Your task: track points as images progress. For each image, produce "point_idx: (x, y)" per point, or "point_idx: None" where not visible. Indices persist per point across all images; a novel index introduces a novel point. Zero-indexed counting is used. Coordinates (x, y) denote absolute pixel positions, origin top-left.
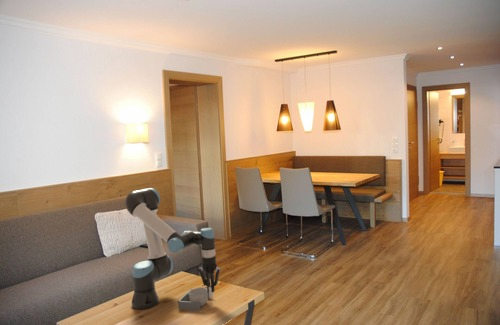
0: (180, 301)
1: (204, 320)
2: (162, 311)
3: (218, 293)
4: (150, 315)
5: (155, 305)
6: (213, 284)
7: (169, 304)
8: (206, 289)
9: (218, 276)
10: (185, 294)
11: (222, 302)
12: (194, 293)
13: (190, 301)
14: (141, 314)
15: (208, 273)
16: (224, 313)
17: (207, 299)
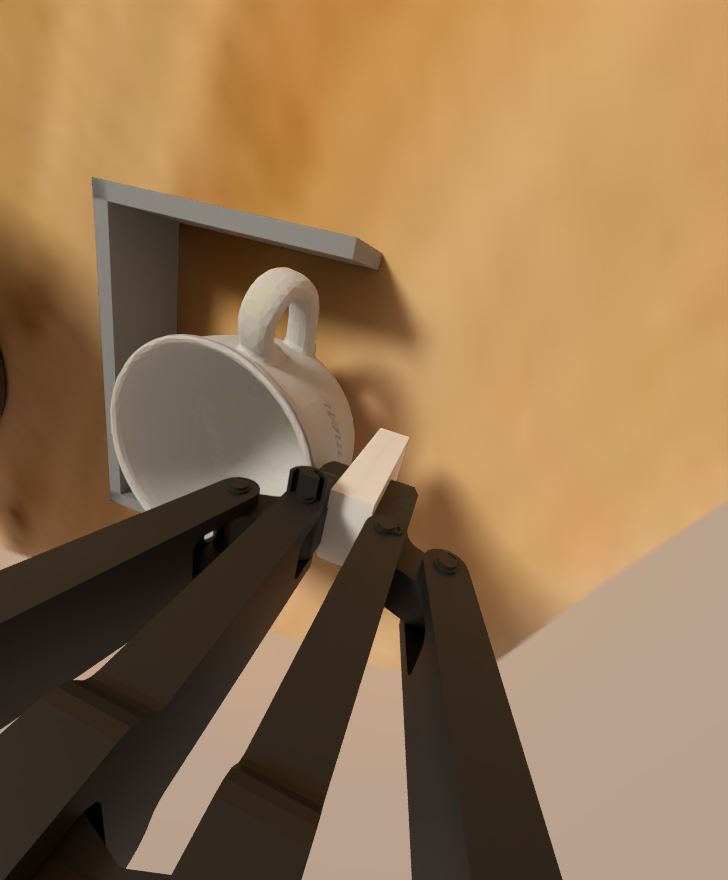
0: (130, 508)
1: (375, 664)
2: (87, 482)
3: (465, 92)
4: (54, 518)
5: (3, 392)
6: (388, 600)
7: (75, 376)
8: (295, 431)
9: (520, 802)
10: (107, 356)
11: (513, 399)
12: (182, 360)
13: (205, 475)
14: (6, 495)
15: (126, 822)
16: (523, 618)
17: (350, 463)
